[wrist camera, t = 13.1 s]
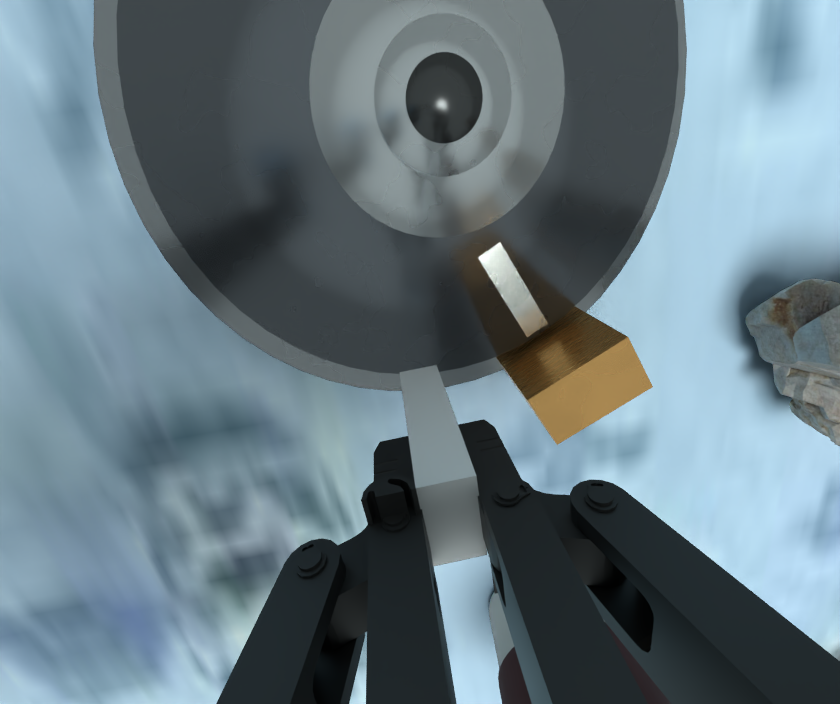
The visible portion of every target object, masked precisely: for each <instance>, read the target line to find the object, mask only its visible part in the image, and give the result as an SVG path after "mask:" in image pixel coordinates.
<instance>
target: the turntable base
mask: <svg viewBox="0 0 840 704" xmlns="http://www.w3.org/2000/svg"><path fill="white" fill-rule="evenodd" d="M117 4H118V0H94V42H93V47H94V56H95V65H96V75H97V84H98V93H99V99H100V103H101V108H102V112H103V116H104V121H105V125H106V130H107V134H108V138H109V142H110V145H111V148H112V151H113V154H114V157H115V160H116V162H117V165H118V168H119V171H120V174H121V177H122V179H123V182H124V185H125V187H126V189H127V191H128V193H129V195H130V198H131V200H132V202H133V204H134V206H135V208H136V210H137V212H138V214H139V216H140V218H141V220H142V222H143V224H144V226H145V228H146V229H147V231H148V232H149V234H150V236H151V237H152V239H153V240H154V242H155V244H156V245H157V247H158V248H159V250H160V251H161V253H162V255H163V256H164V258H165V259H166V261H167V262H168V263H169V264H170V266H171V267H172V268H173V269H174V271H175V272H176V273H177V274H178V276H179V277H180V278H181V280H182V281H183V282H184V283H185V285H186V286H187V287H188V288H189V290H190V291H191V292H192V293H193V294H194V295H195V296H196V297H197V298H198V299H199V300H200V301H201V302H202V303H203V304H204V305H205V306H206V307H207V308H208V309H209V310H210V311H211V312H212V313H213V314H214V315H215V316H216V317H218V318H219V319H220V320H221V321H222V322H224V323H225V324H226V325H227V326H229V327H230V328H231V329H232V330H234V331H235V332H236V333H237V334H239V335H240V336H241V337H242V338H244V339H245V340H247V341H248V342H250V343H252V344H253V345H255V346H256V347H258V348H259V349H261V350H263V351H264V352H266V353H267V354H269V355H270V356H272V357H274V358H276V359H278V360H280V361H282V362H284V363H286V364H288V365H291V366H293V367H295V368H297V369H299V370H301V371H304V372H307V373H309V374H312V375H315V376H318V377H321V378H324V379H326V380H329V381H333V382H338V383H342V384H346V385H351V386H355V387H360V388H369V389H378V390H387V391H402V387H401V380H400V374H392V373H378V372H372V371H367V370H361V369H356V368H350V367H347V366H344V365H340V364H337V363H334V362H331V361H327V360H324V359H321V358H319V357H317V356H314V355H312V354H310V353H307V352H305V351H303V350H301V349H298V348H296V347H294V346H292V345H290V344H289V343H287V342H285V341H284V340H282V339H280V338H278V337H277V336H275V335H273V334H272V333H270V332H268V331H267V330H265V329H264V328H263V327H261V326H260V325H259V324H257V323H256V322H255V321H253V320H252V319H251V318H249V317H248V316H247V315H245V314H244V313H243V312H241V311H240V310H239V309H238V308H237V307H236V306H235V305H234V304H233V303H231V302H230V301H229V300H228V299H227V298H226V297H225V296H224V295H223V294H222V293H221V292H220V291H219V290H218V289H217V288H216V287H215V286H214V285H213V284H212V283H211V282H210V281H209V279H208V278H207V277H206V276H205V275H204V273H203V272H202V271H201V270H200V269H199V268H198V266H197V265H196V264H195V263H194V262H193V260H192V259H191V258H190V256H189V255H188V253H187V252H186V250H185V249H184V247H183V246H182V244H181V243H180V242H179V240H178V239H177V237H176V236H175V234H174V233H173V231H172V230H171V228H170V227H169V225H168V223H167V221H166V219H165V217H164V215H163V213H162V211H161V209H160V207H159V206H158V204H157V202H156V200H155V198H154V196H153V194H152V192H151V190H150V187H149V185H148V182H147V180H146V177H145V174H144V172H143V169H142V167H141V164H140V162H139V159H138V156H137V154H136V151H135V147H134V144H133V140H132V136H131V132H130V128H129V125H128V121H127V117H126V113H125V110H124V103H123V96H122V90H121V83H120V76H119V69H118V58H117V19H116V14H117ZM675 4H676V13H677V21H678V63H679V68H678V79H677V90H676V100H675V109H674V114H673V119H672V124H671V129H670V135H669V140H668V145H667V148H666V152H665V155H664V158H663V161H662V165H661V168H660V171H659V174H658V178H657V181H656V184H655V186H654V188H653V191H652V193H651V195H650V198H649V200H648V202H647V205H646V207H645V209H644V212H643V214H642V216H641V218H640V220H639V222H638V223H637V225H636V227H635V229H634V231H633V232H632V234H631V236H630V238H629V240H628V241H627V243H626V245H625V246H624V248H623V249H622V251H621V252H620V254H619V255H618V256H617V258H616V259H615V261H614V262H613V264H612V265H611V266H610V268H609V269H608V271H607V272H606V273H605V274H604V276H603V277H602V278H601V279H600V280H599V281H598V282H597V284H596V285H595V286H594V287H593V288H592V289H591V291H590V292H589V293H588V294H587V295H586V296H585V297H584V298H583V299H582V300H581V301H580V302H579V303H578V304H576V305H575V307H577V308H579V309H580V310H582V311H584V312H586V311H587V310H588V309H589V308H590V307H591V306H592V305H593V304H594V303H595V302H596V301H597V300H598V299H599V298H600V297H601V296H602V294H603V293H604V292H605V291H606V289H607V288H608V287H609V285H610V284H611V283H612V282H613V280H614V279H615V278H616V277H617V275H618V274H619V273H620V271H621V270H622V268H623V267H624V265H625V264H626V262H627V260H628V259H629V257H630V256H631V254H632V253H633V251H634V249H635V248H636V246H637V245H638V243H639V241H640V239H641V237H642V235H643V233H644V231H645V229H646V227H647V225H648V223H649V221H650V219H651V217H652V215H653V213H654V211H655V209H656V206H657V204H658V201H659V198H660V195H661V193H662V190H663V187H664V185H665V182H666V179H667V177H668V174H669V170H670V166H671V162H672V159H673V155H674V151H675V147H676V143H677V139H678V135H679V129H680V122H681V116H682V109H683V102H684V95H685V77H686V54H687V47H686V32H685V16H684V3H683V0H675ZM503 369H504V368H503V367H502V365H501V364H500V362H499V361H498V360H497V358H496V357H494V358H492V359H489V360H486V361H483V362H480V363H476V364H473V365H470V366H467V367H463V368H458V369H453V370H447V371H442V372H439V373H440V376H441V379H442V382H443V385H444V387H448V386H452V385H456V384H461V383H465V382H469V381H473V380H476V379H479V378H482V377H484V376H487V375H490V374H492V373H495V372H498V371H501V370H503Z"/></svg>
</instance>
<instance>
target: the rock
mask: <svg viewBox="0 0 840 704" xmlns="http://www.w3.org/2000/svg"><path fill="white" fill-rule="evenodd" d="M745 320H746V325H747V327H748V329H749V331H750V334H751V336H754V339H755V341H756V344H757V347H758V350H759V356H760V357H761V358H762V359H763V360H764V361H767V362H769V363H772V364H773V373H774V383H775V385H776V387H777V389H778V390H779V392H780V394H782V395H785V396H788V397H791V398H792V400H791V402H790V404H789V405H790V408H791V411H792V412H793V413H794V414H795V415H796V416H797V417H798V418H799V419H801V420H802V421H803V422H804V423H806V424H808V425H809V426H811V427H813V428H814V429H816V430H817V431H818V432H820V433H821V434H823V435H825V436H828V437H829V438H830V440H831V441H832V442H834V443H835V444H836V445H838V446H840V283H837V282H833V281H825V280H820V279H816V278H815V279H807V280H800V281H799V282H797V283H795V284H793V285H791V286H790V287H788V288H786V289H784V290H782V291H780V292H778V293H777V294H775V295H774V296H772V297H771V298H769V299H768V300H766V301H765V302H763V303H761V304H760V305H759V306H757V307H756V308H754V309H753V310H751V311H750V312H749V313H748V314H747V316H746V318H745Z"/></svg>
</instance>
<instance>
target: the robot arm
mask: <svg viewBox="0 0 840 704" xmlns="http://www.w3.org/2000/svg"><path fill="white" fill-rule="evenodd" d="M400 380H401V387H402V394H403V401H404V408H405V416H406V423H407V430H408V436H406V437H401V438H397V439H392V440H387V441H382V442H380V443H379V445H378V446H377V448H376V450H375V452H374V482H373V483H371V484H370V485H369V486H368V487H367V488H366V490H365V491H364V492H363V496H362V499H361V501H362V505H363V508H364V511H365V515H366V518H367V522H368V525H367V527H366V528H365V529H364V530H363V531H362V532H361V533H360V534H358V535H357V536H355V537H353V538H352V539H350V540H348V541H346V542H344V543H342V544H340V545H336V544H335V543H334V542H333V541H331V540H327V539H317V540H311V541H309V542H307V543H305V544H303V545H301V546H300V547H299V548H297V549H296V550H295V551H294V552H293V553H292V554H291V555H290V557H289V558H288V559H287V561H286V562H285V564H284V566H283V568H282V570H281V572H280V574H279V576H278V578H277V580H276V582H275V585H274V587H273V589H272V591H271V593H270V595H269V597H268V599H267V601H266V603H265V605H264V607H263V609H262V611H261V613H260V615H259V617H258V619H257V621H256V624H255V626H254V628H253V630H252V632H251V634H250V636H249V638H248V640H247V642H246V644H245V646H244V648H243V650H242V652H241V654H240V656H239V658H238V660H237V663H236V665H235V667H234V669H233V671H232V673H231V675H230V677H229V679H228V681H227V683H226V685H225V687H224V689H223V691H222V693H221V695H220V697H219V699H218V701H217V704H349V701H350V697H351V693H352V689H353V684H354V680H355V676H356V672H357V667H358V663H359V659H360V655H361V651H362V646H363V642H364V638H365V632H367V679H366V704H456V698H455V692H454V686H453V680H452V673H451V667H450V661H449V655H448V649H447V643H446V637H445V630H444V624H443V618H442V612H441V606H440V600H439V593H438V587H437V582H436V578H435V573H434V567H433V566H438V565H442V564H447V563H451V562H456V561H461V560H465V559H470V558H474V557H479V556H484V555H487V551H488V554H489V557H490V562H491V569H492V577H493V584H494V592H495V594H496V593H498V595H499V598H500V601H501V605H502V608H503V611H504V614H505V618H506V621H507V624H508V627H509V631H510V634H511V637H512V641H513V644H514V647H515V650H516V654H517V657H518V660H519V663H520V667H521V670H522V673H523V677H524V680H525V683H526V686H527V690H528V693H529V696H530V699H531V703H532V704H648V703H647V701H646V699H645V697H644V695H643V693H642V691H641V690H640V688H639V686H638V684H637V682H636V680H635V678H634V676H633V675H632V673H631V671H630V669H629V667H628V665H627V663H626V661H625V660H624V658H623V656H622V654H621V652H620V650H619V648H618V646H617V645H616V643H615V641H614V639H613V637H612V635H611V633H610V631H609V630H608V628H607V626H606V624H607V625H608V626H609V627H610V628H611V630H612V631H613V632H614V633H615V635H616V636H617V637H618V638H619V640H620V641H621V642H622V643H623V645H624V646H625V647H626V648H627V650H628V651H629V652H630V653H631V654H632V656H633V657H634V658H635V659H636V661H637V662H638V663H639V664H640V666H641V667H642V668H643V669H644V671H645V672H646V673H647V674H648V675H649V677H650V678H651V679H652V680H653V682H654V683H655V684H656V685H657V687H658V688H659V689H660V690H661V692H662V693H663V694H664V695H665V697H666V698H667V699H668V700H669V701H670V703H671V704H840V661H838V660H837V659H836V658H835V657H833V656H832V655H831V654H830V653H828V652H827V651H826V650H825V649H823V648H822V647H821V646H820V645H818V644H817V643H816V642H814V641H813V640H812V639H811V638H809V637H808V636H807V635H806V634H804V633H803V632H802V631H801V630H799V629H798V628H797V627H796V626H794V625H793V624H792V623H791V622H789V621H788V620H787V619H786V618H784V617H783V616H782V615H781V614H779V613H778V612H777V611H775V610H774V609H773V608H772V607H770V606H769V605H768V604H767V603H765V602H764V601H763V600H762V599H760V598H759V597H758V596H757V595H755V594H754V593H753V592H752V591H750V590H749V589H748V588H747V587H745V586H744V585H743V584H741V583H740V582H739V581H738V580H736V579H735V578H734V577H733V576H731V575H730V574H729V573H728V572H726V571H725V570H724V569H723V568H721V567H720V566H719V565H718V564H716V563H715V562H714V561H713V560H711V559H710V558H709V557H708V556H706V555H705V554H704V553H702V552H701V551H700V550H699V549H697V548H696V547H695V546H694V545H692V544H691V543H690V542H689V541H687V540H686V539H685V538H684V537H682V536H681V535H680V534H679V533H677V532H676V531H675V530H674V529H672V528H671V527H670V526H668V525H667V524H666V523H665V522H663V521H662V520H661V519H660V518H658V517H657V516H656V515H655V514H653V513H652V512H651V511H650V510H648V509H647V508H646V507H645V506H643V505H642V504H641V503H640V502H638V501H637V500H636V499H634V498H633V497H632V496H631V495H629V494H628V493H627V492H626V491H624V490H623V489H622V488H620V487H618V486H616V485H615V484H613V483H610V482H606V481H603V480H587V481H583V482H580V483H579V484H577V485H576V486H574V487H573V489H572V491H571V493H570V495H554V494H546V493H542V492H539V491H536V490H534V489H533V488H532V487H531V486H530V485H529V484H528V483H527V482H525V481H523V480H522V479H521V478H520V476H519V474H518V472H517V470H516V468H515V466H514V464H513V462H512V460H511V458H510V456H509V454H508V452H507V450H506V448H505V447H504V445H503V443H502V441H501V439H500V437H499V435H498V433H497V431H496V429H495V427H494V426H492V425H491V424H490V423H488V422H487V421H485V420H479V421H474V422H469V423H465V424H460V425H458V423H457V421H456V418H455V415H454V412H453V410H452V407H451V404H450V401H449V398H448V396H447V393H446V390H445V387H444V385H443V382H442V379H441V376H440V373H439V371H438V368H437V365H434V366H429V367H424V368H419V369H414V370H408V371H403V372H400ZM486 548H487V550H486ZM604 621H605V622H606V624H605V622H604Z"/></svg>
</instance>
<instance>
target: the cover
mask: <svg viewBox="0 0 840 704" xmlns="http://www.w3.org/2000/svg"><path fill="white" fill-rule="evenodd" d="M309 87H310V105H311V113H312V120H313V124H314V128H315V132H316V136H317V139H318V142H319V145H320V147H321V150H322V153H323V155H324V157H325V159H326V162H327V164H328V166H329V168H330V170H331V171H332V173H333V175H334V176H335V178H336V179H337V181H338V182H339V184H340V185H341V187H342V188H343V189H344V190H345V191H346V193H347V194H348V195H349V196H350V197H351V199H352V200H353V201H354V202H356V203H357V204H358V205H359V206H360V207H361V208H362V209H363V210H364V211H365V212H367V213H368V214H370V215H371V216H372V217H374V218H375V219H377V220H378V221H380V222H382V223H384V224H385V225H387V226H389V227H391V228H394V229H396V230H399V231H402V232H404V233H408V234H412V235H416V236H422V237H433V238H439V237H452V236H458V235H463V234H467V233H470V232H473V231H476V230H479V229H481V228H483V227H485V226H487V225H489V224H491V223H493V222H494V221H496V220H497V219H499V218H500V217H502V216H504V215H505V214H506V213H507V212H509V211H510V210H511V209H512V208H513V207H515V206H516V205H517V204H518V203H519V202H520V201H521V200H522V199H523V197H524V196H525V195H526V194H527V193H528V192H529V191H530V189H531V188H532V187H533V185H534V184H535V182H536V181H537V180H538V178H539V176H540V175H541V173H542V171H543V170H544V168H545V166H546V164H547V162H548V160H549V158H550V155H551V153H552V151H553V148H554V145H555V142H556V139H557V136H558V133H559V129H560V124H561V119H562V114H563V106H564V95H565V83H564V67H563V59H562V52H561V48H560V44H559V40H558V36H557V33H556V30H555V27H554V25H553V22H552V19H551V17H550V14H549V12H548V11H547V9H546V7H545V5H544V3H543V1H542V0H332V1H331V3H330V5H329V6H328V8H327V10H326V12H325V14H324V16H323V19H322V22H321V24H320V27H319V30H318V33H317V35H316V40H315V44H314V48H313V53H312V58H311V67H310V76H309Z"/></svg>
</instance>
